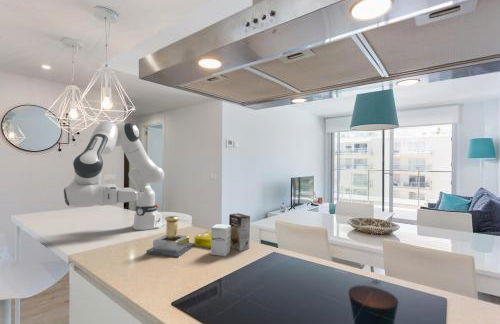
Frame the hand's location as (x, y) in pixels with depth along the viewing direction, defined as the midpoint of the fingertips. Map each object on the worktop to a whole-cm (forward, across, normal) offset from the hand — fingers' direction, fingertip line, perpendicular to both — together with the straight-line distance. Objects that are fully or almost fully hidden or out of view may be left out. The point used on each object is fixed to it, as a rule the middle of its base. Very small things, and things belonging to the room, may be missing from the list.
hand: (145, 192), depth 116 cm
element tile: (+34, -1, -28) cm, 44 cm away
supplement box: (+30, +16, -28) cm, 44 cm away
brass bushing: (+12, 0, -26) cm, 29 cm away
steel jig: (+12, 0, -28) cm, 30 cm away
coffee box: (+42, +13, -28) cm, 52 cm away
